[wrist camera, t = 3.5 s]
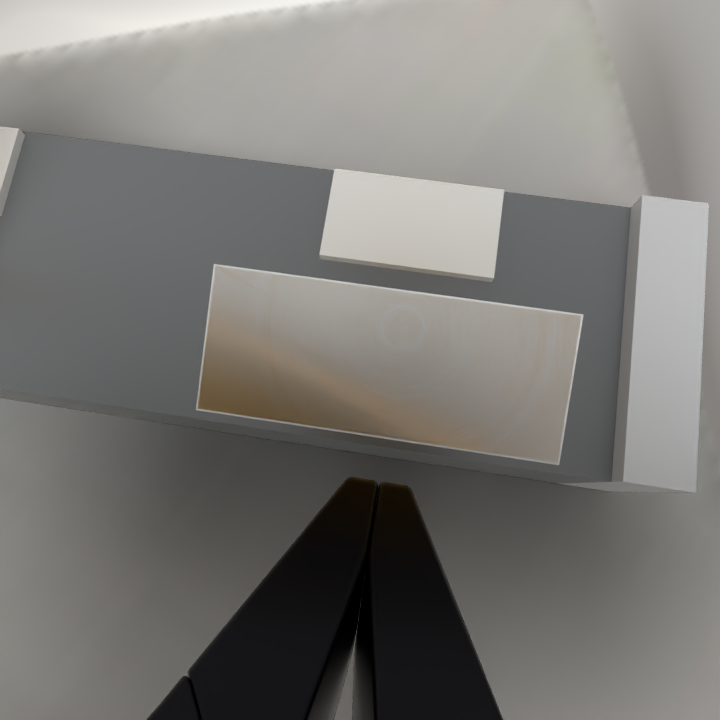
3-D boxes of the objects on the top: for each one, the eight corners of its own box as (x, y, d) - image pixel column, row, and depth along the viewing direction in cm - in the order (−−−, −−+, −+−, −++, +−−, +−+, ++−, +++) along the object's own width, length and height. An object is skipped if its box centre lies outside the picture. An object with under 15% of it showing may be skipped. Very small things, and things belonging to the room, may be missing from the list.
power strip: (610, 491, 19) (695, 492, 14) (-193, 368, 20) (-383, 328, 15) (625, 275, 20) (708, 203, 15) (-127, 175, 22) (-282, 80, 17)
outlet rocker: (473, 390, 15) (559, 465, 7) (306, 365, 15) (195, 409, 7) (484, 321, 15) (583, 313, 7) (315, 298, 15) (214, 263, 7)
